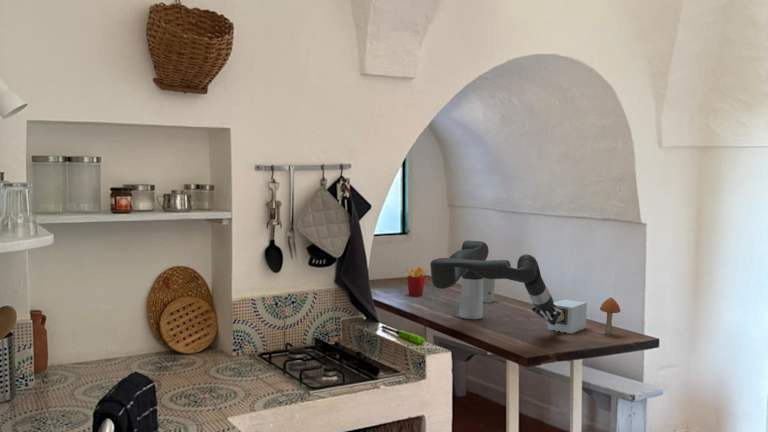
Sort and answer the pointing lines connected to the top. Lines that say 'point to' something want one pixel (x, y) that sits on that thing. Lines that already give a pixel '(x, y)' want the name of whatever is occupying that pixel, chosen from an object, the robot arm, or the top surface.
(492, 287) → the skincare box
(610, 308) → the mushroom
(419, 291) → the french fries
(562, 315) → the peg
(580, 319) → the block
